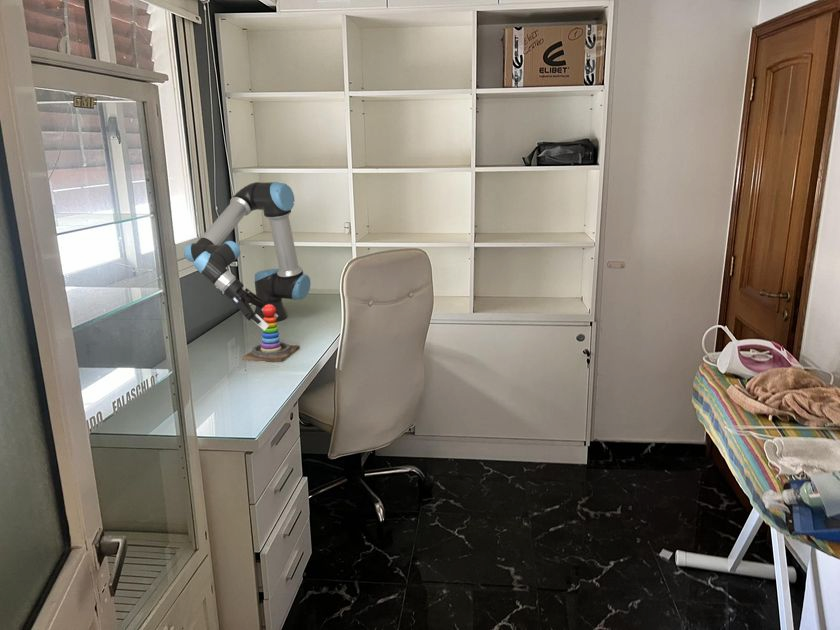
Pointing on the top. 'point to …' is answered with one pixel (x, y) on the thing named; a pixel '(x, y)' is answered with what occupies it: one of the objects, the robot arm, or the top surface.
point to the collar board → (271, 359)
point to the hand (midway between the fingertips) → (271, 323)
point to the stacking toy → (270, 331)
